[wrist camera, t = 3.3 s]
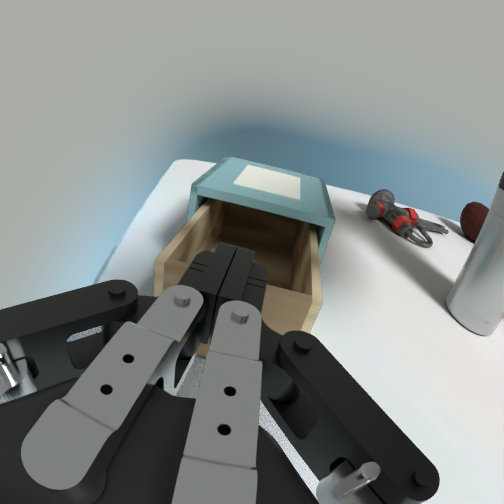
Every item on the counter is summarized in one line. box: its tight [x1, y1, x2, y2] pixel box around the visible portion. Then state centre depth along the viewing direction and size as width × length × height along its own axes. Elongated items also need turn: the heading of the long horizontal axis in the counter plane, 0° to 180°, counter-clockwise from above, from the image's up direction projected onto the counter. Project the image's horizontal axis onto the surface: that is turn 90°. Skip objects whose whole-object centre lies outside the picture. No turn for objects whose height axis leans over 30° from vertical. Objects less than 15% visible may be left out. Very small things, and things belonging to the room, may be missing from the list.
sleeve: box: [187, 156, 335, 265], centre depth 32 cm, size 13×12×10 cm
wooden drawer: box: [154, 198, 322, 357], centre depth 29 cm, size 22×10×7 cm, turn 171°
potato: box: [460, 202, 489, 242], centre depth 65 cm, size 11×13×10 cm
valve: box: [366, 189, 448, 247], centre depth 58 cm, size 6×26×15 cm
